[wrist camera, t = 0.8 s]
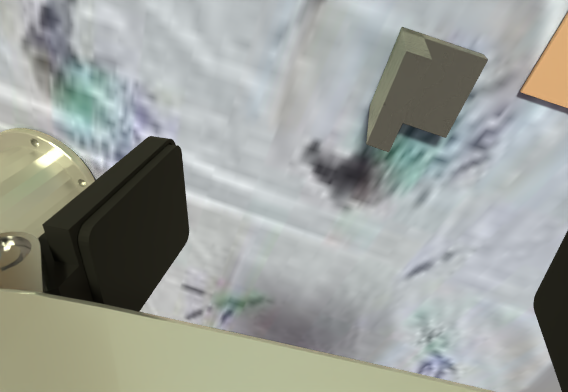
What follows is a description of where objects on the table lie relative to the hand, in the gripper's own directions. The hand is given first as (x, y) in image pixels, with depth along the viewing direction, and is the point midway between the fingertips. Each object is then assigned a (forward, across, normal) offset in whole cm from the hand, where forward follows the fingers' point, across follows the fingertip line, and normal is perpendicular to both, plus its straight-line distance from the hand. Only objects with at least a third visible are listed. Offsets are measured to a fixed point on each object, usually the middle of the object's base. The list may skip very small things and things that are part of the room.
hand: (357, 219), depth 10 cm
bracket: (+24, -3, +3) cm, 24 cm away
